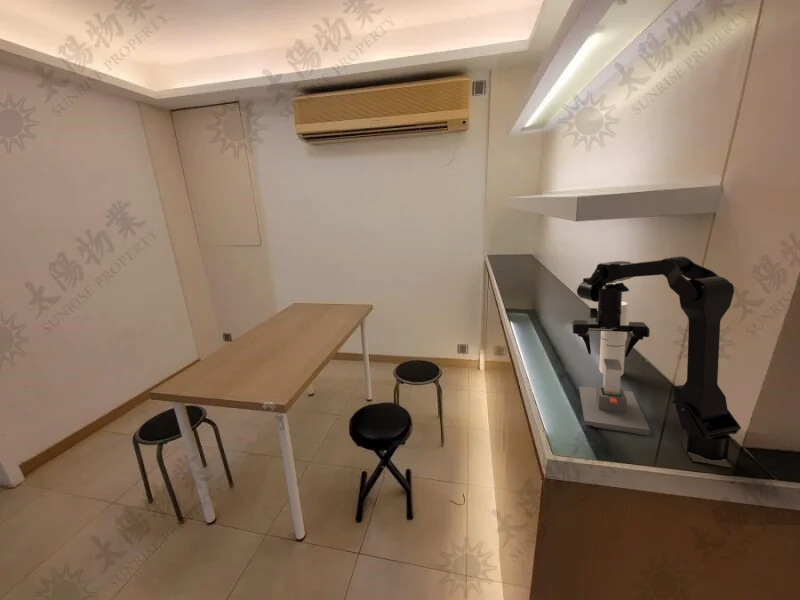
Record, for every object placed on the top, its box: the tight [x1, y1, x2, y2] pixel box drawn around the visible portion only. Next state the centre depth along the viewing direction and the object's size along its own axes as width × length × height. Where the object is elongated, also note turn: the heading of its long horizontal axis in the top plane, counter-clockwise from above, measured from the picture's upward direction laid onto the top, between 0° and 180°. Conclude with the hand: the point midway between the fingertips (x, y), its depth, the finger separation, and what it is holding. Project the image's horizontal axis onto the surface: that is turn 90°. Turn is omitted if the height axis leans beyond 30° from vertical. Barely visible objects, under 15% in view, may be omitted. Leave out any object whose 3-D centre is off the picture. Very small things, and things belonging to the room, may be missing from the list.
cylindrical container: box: [598, 301, 628, 377], centre depth 112 cm, size 7×7×25 cm
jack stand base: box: [578, 385, 651, 436], centre depth 92 cm, size 14×20×6 cm
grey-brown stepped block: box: [602, 359, 622, 397], centre depth 90 cm, size 4×5×9 cm
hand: (607, 355), depth 98 cm, fingers open, 9 cm apart
